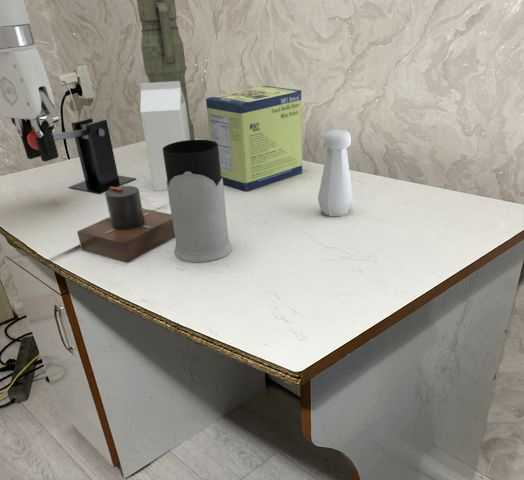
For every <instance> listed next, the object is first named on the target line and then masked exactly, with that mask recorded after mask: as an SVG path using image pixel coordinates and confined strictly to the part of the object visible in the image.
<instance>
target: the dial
mask: <svg viewBox="0 0 524 480" xmlns="http://www.w3.org/2000/svg"><path fill="white" fill-rule="evenodd" d="M109 189H110V190H108V191H106V192H104V196H105V200H106V205H107V210H108V214H109V217H110V219H111V223H112V226H113V227H114V228H117V229H130V228H134V227H137V226H140V225H142V224H143V223H144V221H145V220H144V215H143V210H142V208H143V205H142V200H141V194H140V189H139V188H138V187H137V186H133V185H121V186H119V187H109Z"/></svg>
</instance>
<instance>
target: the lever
mask: <svg viewBox="0 0 524 480" xmlns="http://www.w3.org/2000/svg"><path fill="white" fill-rule="evenodd" d="M80 126H81V130H75V131H73V130H69V131H61V132H56V133H54V134H53V137H54V141H55V142H56V141H61V140H67V139H73V138H74V139H75V137H80V136H82V138H83V139H89V138H88V134H87V130H86V125H85V124H84V125H80ZM36 137H38V136H37V134H36V131H35V130H33V131H31V132H29V134H28V136H27V141H28V144H29V145H30V146H31V147H32V148H33V149H36V150H39V149H38V145H37V142H36Z"/></svg>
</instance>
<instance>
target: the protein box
mask: <svg viewBox="0 0 524 480" xmlns="http://www.w3.org/2000/svg"><path fill="white" fill-rule="evenodd" d="M205 102H206V103H205V104H206V113H207V124H208V132H209V133H208V134H209V140H210V141H214V142H216V143H218V149H219V160H220V170H221V178H223V185H227V186H229V187H234V188H235V189H239V190H242V191H245V192H247V191H251V190H254V189H257V188H260V187H262V186H265V185H269V184H273V183H274V182H277V181H280V180H284V179H287V178H290V177H293V176H295V175H298V174H302V173H303V125H302V124H303V120H302V115H303V114H302V113H303V111H302V110H303V109H302V90H301V89H294V88H293V89H292V88H285V87H277V86H270V85H261V86H257V87H252V88H248V89H243V90H238V91H235V92H229V93H225V94H220V95H214V96H209V97H207V98H206V99H205Z"/></svg>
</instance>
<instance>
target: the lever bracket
mask: <svg viewBox="0 0 524 480" xmlns="http://www.w3.org/2000/svg"><path fill="white" fill-rule="evenodd" d="M70 124H71V128H72V131H75V130H81V126H80V125H84V124H85V125H86V130H87V134H88V138H89V139H83V138H82V136H80V137H74V140H75V145H76V150H77V152H78V157H79V162H80V165H81V170H82V174H83V178H84V181H82V182H79V183H75V184H73V185H70V186H68V189H71V190H76V191H81V192H85V193H90V194H96V195H102V194H105V192H106V191H108V190H110V189H109V187H121V186H125V185H127V184H130V183H131V182H133V181H136V180H137V178H136V177H131V176H126V175H125V176H124V175H119V173H118V168H117V163H116V159H115V154H114V150H113V144H112V139H111V134H110V129H109V125H108V120H107V119H100V120H96V121H94V120H93V118H92V117H87V118H84V119H80V120H77V121H73V122H71V123H70Z"/></svg>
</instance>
